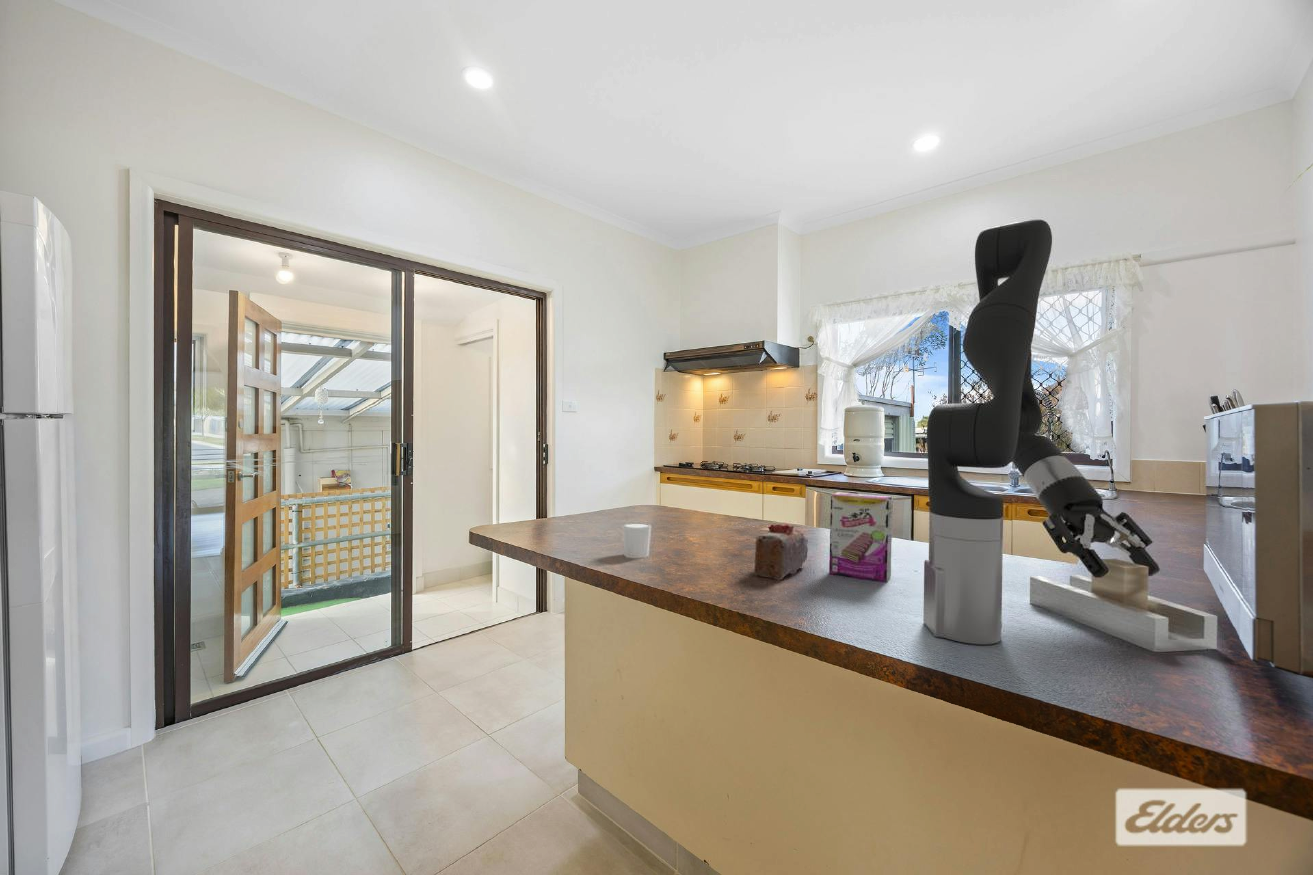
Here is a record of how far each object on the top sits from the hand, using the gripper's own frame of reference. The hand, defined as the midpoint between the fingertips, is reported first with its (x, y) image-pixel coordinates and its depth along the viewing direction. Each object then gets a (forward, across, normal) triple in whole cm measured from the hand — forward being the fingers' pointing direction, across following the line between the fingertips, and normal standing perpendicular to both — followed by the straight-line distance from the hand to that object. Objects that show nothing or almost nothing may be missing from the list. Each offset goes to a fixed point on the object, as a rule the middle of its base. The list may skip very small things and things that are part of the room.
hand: (1128, 574), depth 78 cm
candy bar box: (-16, -26, +28) cm, 41 cm away
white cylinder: (-31, -69, +43) cm, 87 cm away
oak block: (+4, 0, +6) cm, 7 cm away
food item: (-19, -40, +31) cm, 55 cm away
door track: (+4, 0, +7) cm, 8 cm away
